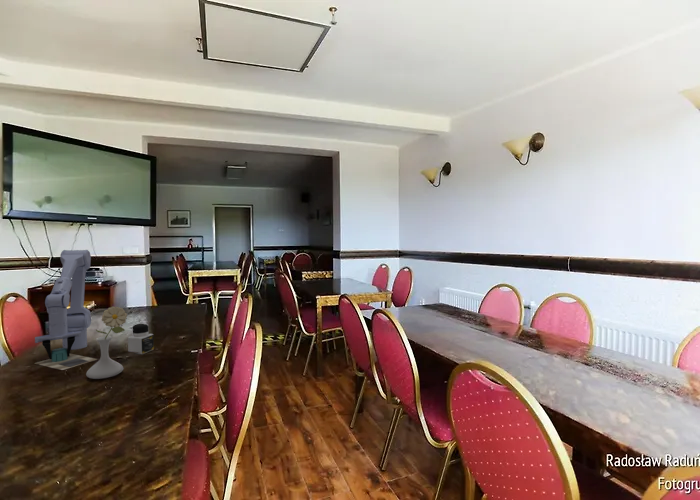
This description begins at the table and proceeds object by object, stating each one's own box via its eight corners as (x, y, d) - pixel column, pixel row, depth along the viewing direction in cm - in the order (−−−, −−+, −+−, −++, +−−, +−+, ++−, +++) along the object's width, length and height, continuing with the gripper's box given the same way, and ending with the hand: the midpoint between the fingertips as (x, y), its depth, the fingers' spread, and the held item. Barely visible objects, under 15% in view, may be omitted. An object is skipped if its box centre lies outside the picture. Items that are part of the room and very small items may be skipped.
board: (34, 365, 147) (33, 356, 147) (70, 355, 159) (70, 347, 159) (62, 372, 140) (62, 363, 140) (98, 361, 152) (97, 353, 152)
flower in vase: (83, 384, 129) (81, 311, 128) (88, 373, 139) (86, 305, 138) (127, 377, 135) (126, 308, 134) (129, 367, 145) (127, 302, 144)
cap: (51, 359, 151) (51, 349, 151) (67, 356, 155) (66, 347, 154) (51, 362, 148) (51, 352, 147) (67, 359, 151) (67, 350, 151)
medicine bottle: (142, 354, 160) (141, 326, 160) (127, 353, 162) (127, 325, 161) (154, 349, 167) (153, 322, 167) (140, 348, 169) (139, 322, 168)
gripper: (34, 328, 143) (35, 363, 143) (81, 322, 152) (82, 356, 152) (34, 324, 148) (36, 358, 149) (80, 319, 157) (81, 351, 158)
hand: (59, 357), depth 151 cm, fingers closed on cap, 5 cm apart
